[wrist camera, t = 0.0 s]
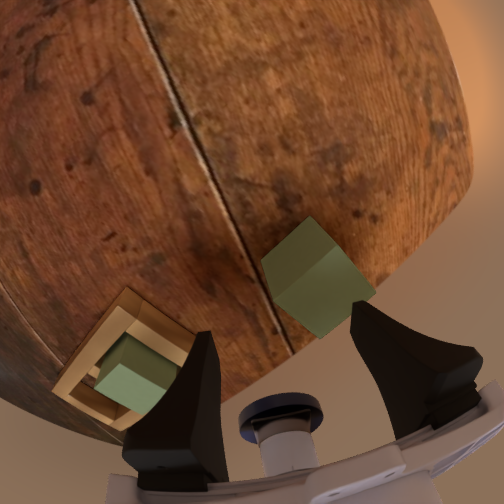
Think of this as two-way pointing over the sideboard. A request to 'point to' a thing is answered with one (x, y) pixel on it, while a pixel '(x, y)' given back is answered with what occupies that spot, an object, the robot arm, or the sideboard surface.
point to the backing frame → (102, 338)
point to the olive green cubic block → (314, 278)
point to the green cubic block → (135, 374)
